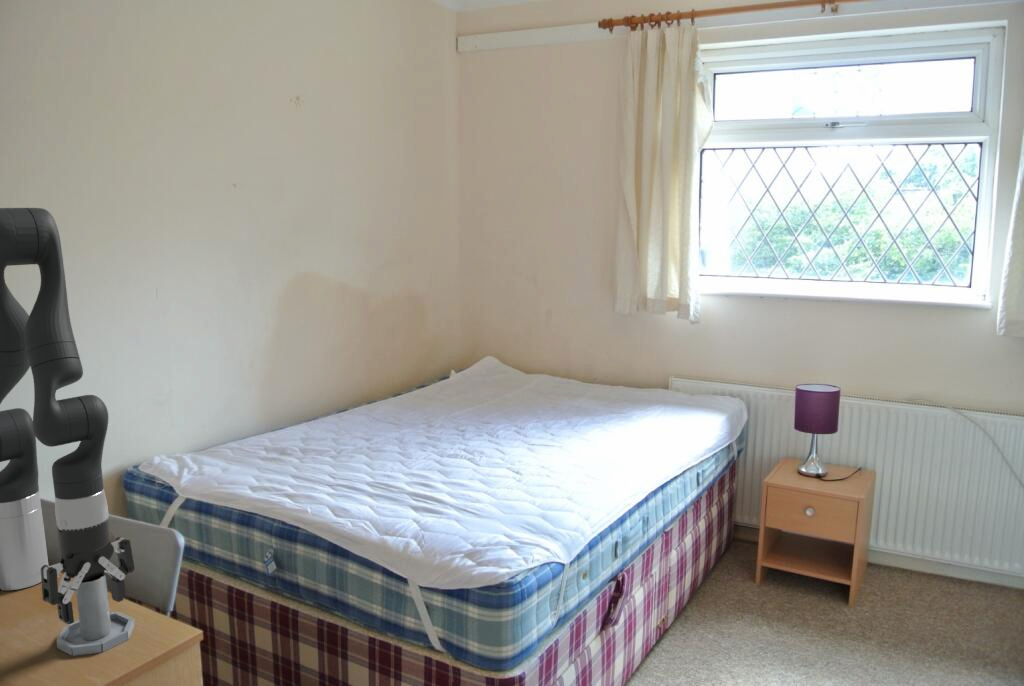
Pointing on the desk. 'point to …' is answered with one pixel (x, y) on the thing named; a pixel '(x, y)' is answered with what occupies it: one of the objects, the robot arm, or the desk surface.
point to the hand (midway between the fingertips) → (93, 611)
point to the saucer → (78, 646)
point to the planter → (93, 608)
